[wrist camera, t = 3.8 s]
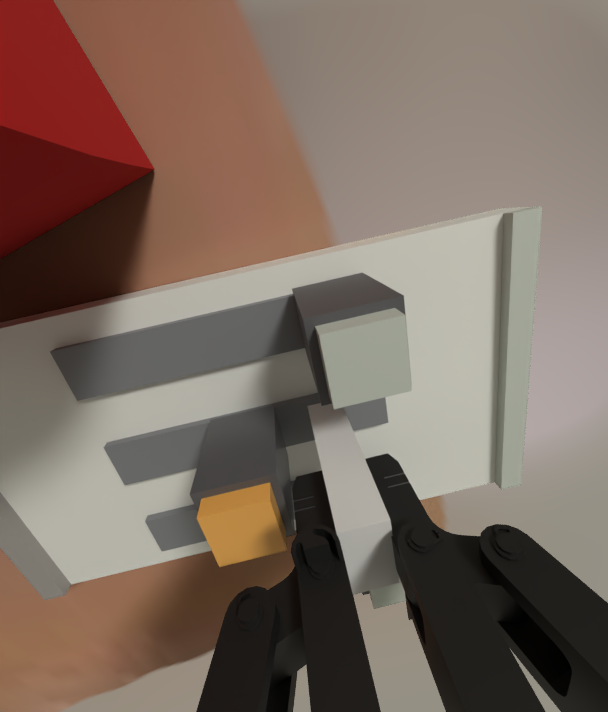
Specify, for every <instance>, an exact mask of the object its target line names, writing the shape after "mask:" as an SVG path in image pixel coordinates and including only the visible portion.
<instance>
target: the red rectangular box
mask: <svg viewBox="0 0 608 712" xmlns="http://www.w3.org/2000/svg"><path fill="white" fill-rule="evenodd" d="M153 170H154V168H153V166H152V164H151V163H150V161H149V159H148V158H147V156H146V154H145V153H144V151H143V149H142V148H141V146H140V144H139V143H138V141H137V139H136V138H135V136H134V134H133V133H132V131H131V129H130V128H129V126H128V124H127V123H126V121H125V119H124V118H123V116H122V114H121V113H120V111H119V109H118V108H117V106H116V104H115V103H114V101H113V99H112V98H111V96H110V94H109V93H108V91H107V89H106V88H105V86H104V84H103V83H102V81H101V79H100V78H99V76H98V74H97V73H96V71H95V69H94V68H93V66H92V64H91V63H90V61H89V59H88V58H87V56H86V54H85V53H84V51H83V49H82V48H81V46H80V44H79V43H78V41H77V39H76V38H75V36H74V34H73V33H72V31H71V30H70V28H69V26H68V25H67V23H66V21H65V20H64V18H63V16H62V15H61V13H60V11H59V10H58V8H57V6H56V5H55V3H54V1H53V0H0V259H1V258H3V257H5V256H6V255H8V254H10V253H11V252H13V251H15V250H17V249H18V248H20V247H22V246H23V245H25V244H27V243H29V242H30V241H32V240H34V239H36V238H37V237H39V236H41V235H42V234H44V233H46V232H48V231H49V230H51V229H53V228H54V227H56V226H58V225H60V224H61V223H63V222H65V221H67V220H68V219H70V218H72V217H73V216H75V215H77V214H79V213H80V212H82V211H84V210H85V209H87V208H89V207H91V206H92V205H94V204H96V203H98V202H99V201H101V200H103V199H104V198H106V197H108V196H110V195H111V194H113V193H115V192H117V191H118V190H120V189H122V188H123V187H125V186H127V185H129V184H130V183H132V182H134V181H135V180H137V179H139V178H141V177H142V176H144V175H146V174H148V173H149V172H151V171H153Z"/></svg>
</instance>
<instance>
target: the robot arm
mask: <svg viewBox="0 0 608 712" xmlns="http://www.w3.org/2000/svg"><path fill="white" fill-rule="evenodd" d="M307 407H308V411H309V415H310V420H311V424H312V429H313V433H314V437H315V442H316V446H317V450H318V455H319V459H320V464H321V468H322V470H321V471H317V472H313V473H309V474H305V475H301V476H297V477H296V479H295V482H294V484H293V487H292V493H293V501H294V511H295V522H296V532H297V535H296V537H295V539H294V541H293V543H292V548H291V554H292V557H293V560H294V563H295V567H294V569H293V571H292V572H291V573H290V574H289V576H288V577H286V578H285V579H284V580H283V581H281V582H280V583H278V584H277V585H275V586H274V587H272V588H270V589H269V590H266V589H265V588H262V587H258V586H255V587H250V588H247V589H245V590H243V591H242V592H240V593H239V594H238V595H237V596H236V597H235V598H234V599H233V600H232V602H231V603H230V605H229V607H228V609H227V612H226V614H225V617H224V621H223V624H222V628H221V631H220V634H219V638H218V641H217V644H216V648H215V651H214V654H213V658H212V661H211V664H210V668H209V671H208V675H207V678H206V681H205V685H204V688H203V692H202V695H201V698H200V701H199V705H198V708H197V712H293V706H294V697H295V688H296V679H297V671H298V670H299V669H300V668H302V667H303V666H305V665H306V664H307V674H308V685H309V695H310V705H311V712H381V711H380V707H379V702H378V698H377V694H376V690H375V686H374V682H373V678H372V673H371V669H370V665H369V660H368V656H367V652H366V648H365V644H364V640H363V636H362V631H361V627H360V623H359V619H358V614H357V610H356V606H355V602H354V597H353V595H354V594H358V593H362V592H366V591H370V590H374V589H378V588H382V587H386V586H390V585H394V584H397V583H400V582H399V578H400V580H401V583H402V586H403V588H404V591H405V598H406V605H407V612H408V618H409V620H410V619H412V620H413V622H414V625H415V628H416V631H417V634H418V636H419V639H420V642H421V645H422V647H423V650H424V653H425V655H426V658H427V661H428V664H429V666H430V669H431V672H432V675H433V677H434V680H435V683H436V686H437V688H438V691H439V694H440V696H441V699H442V702H443V705H444V707H445V710H446V712H545V710H544V708H543V707H542V705H541V703H540V701H539V700H538V698H537V696H536V695H535V693H534V691H533V689H532V687H531V686H530V684H529V682H528V680H527V678H526V677H525V675H524V673H523V672H522V670H521V668H520V667H519V664H518V663H517V661H516V659H515V657H514V656H513V654H512V652H511V650H512V651H513V653H514V654H515V655H516V656H517V658H518V659H519V660H520V661H521V663H522V664H523V665H524V666H525V667H526V669H527V670H528V671H529V672H530V674H531V675H532V676H533V677H534V679H535V680H536V681H537V682H538V684H539V685H540V686H541V687H542V688H543V690H544V691H545V692H546V693H547V695H548V696H549V697H550V699H551V700H552V701H553V702H554V704H555V705H556V706H557V707H558V708H559V710H560V711H561V712H608V603H607V602H606V601H604V600H603V599H602V598H601V597H600V596H599V595H597V594H596V593H595V592H594V591H593V590H592V589H590V588H589V587H588V586H587V585H586V584H585V583H583V582H582V581H581V580H580V579H579V578H578V577H576V576H575V575H574V574H573V573H572V572H570V571H569V570H568V569H567V568H566V567H565V566H563V565H562V564H561V563H560V562H559V561H558V560H556V559H555V558H554V557H553V556H552V555H551V554H549V553H548V552H547V551H546V550H545V549H543V548H542V547H541V546H540V545H539V544H538V543H536V542H535V541H534V540H533V539H532V538H530V537H529V536H528V535H527V534H525V533H524V532H522V531H521V530H519V529H517V528H514V527H511V526H508V525H499V524H496V525H492V526H489V527H487V528H486V529H485V530H483V531H482V533H481V536H464V535H456V534H452V533H449V532H446V531H444V530H442V529H441V528H439V527H438V526H436V525H435V524H434V523H433V522H432V521H431V519H430V518H429V516H428V515H427V513H426V511H425V509H424V507H423V506H422V504H421V502H420V500H419V498H418V496H417V495H416V493H415V491H414V489H413V487H412V486H411V484H410V483H409V480H408V478H407V477H406V475H405V474H404V471H403V469H402V467H401V466H400V464H399V462H398V461H397V460H396V459H394V458H393V457H392V456H391V455H389V454H388V453H387V454H383V455H379V456H374V457H370V458H366V459H365V458H364V455H363V453H362V451H361V448H360V446H359V443H358V441H357V439H356V436H355V434H354V431H353V429H352V427H351V424H350V422H349V419H348V417H347V415H346V412H345V410H344V408H343V407H342V408H337V409H334V408H333V405H332V404H329V405H324V406H322V405H321V403H318V404H314V405H310V406H307ZM508 646H509V647H508ZM510 649H511V650H510Z"/></svg>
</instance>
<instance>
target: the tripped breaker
mask: <svg viewBox="0 0 608 712" xmlns="http://www.w3.org/2000/svg"><path fill="white" fill-rule="evenodd" d="M190 497H191V499H192V501H193V503H194V505H195V507H196V509H197V512H198V515H197V520H198V522H199V525H200V527H201V529H202V531H203V533H204V535H205V537H206V539H207V542H208V544H209V546H210V548H211V550H212V552H213V554H214V556H215V559H216V561H217V563H218V565H219V567H222V566H226V565H230V564H234V563H238V562H242V561H246V560H251V559H255V558H259V557H263V556H267V555H271V554H275V553H279V552H283V551H287V544H286V537H287V536H291V535H295V526H294V515H293V504H292V493H291V482H290V471H289V459H288V453H287V450H286V446H285V443H284V439H283V436H282V432H281V429H280V425H279V422H278V418H277V415H276V411H275V408H274V405H272V406H267V407H263V408H259V409H255V410H250V411H246V412H242V413H238V414H233V415H229V416H225V417H221V418H216V419H212V420H210V423H209V427H208V430H207V434H206V438H205V441H204V445H203V448H202V452H201V455H200V459H199V463H198V466H197V470H196V473H195V477H194V480H193V484H192V488H191V491H190Z"/></svg>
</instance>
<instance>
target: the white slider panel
mask: <svg viewBox="0 0 608 712" xmlns="http://www.w3.org/2000/svg"><path fill="white" fill-rule="evenodd" d="M541 217H542V207H521V208H500V209H496V210H491V211H487V212H482V213H478V214H474V215H469V216H465V217H461V218H456V219H452V220H447V221H443V222H439V223H435V224H430V225H426V226H421V227H417V228H413V229H408V230H404V231H400V232H395V233H390V234H387V235H382V236H377V237H373V238H369V239H364V240H360V241H356V242H351V243H347V244H342V245H338V246H334V247H329V248H325V249H320V250H316V251H312V252H307V253H303V254H298V255H294V256H290V257H285V258H281V259H277V260H272V261H268V262H263V263H259V264H255V265H250V266H246V267H242V268H237V269H233V270H228V271H224V272H220V273H215V274H211V275H207V276H202V277H198V278H193V279H189V280H185V281H180V282H176V283H171V284H167V285H163V286H158V287H154V288H150V289H145V290H141V291H136V292H132V293H128V294H123V295H119V296H115V297H110V298H106V299H101V300H97V301H93V302H88V303H84V304H79V305H75V306H71V307H66V308H62V309H58V310H53V311H49V312H44V313H40V314H36V315H31V316H27V317H23V318H18V319H14V320H9V321H5V322H1V323H0V548H1V549H2V550H3V552H4V553H5V554H6V555H7V556H8V558H9V559H10V560H11V561H12V562H13V563H14V565H15V566H16V567H17V568H18V569H19V571H20V572H21V573H22V574H23V575H24V576H25V578H26V579H27V580H28V581H29V582H30V584H31V585H32V586H33V587H34V588H35V589H36V591H37V592H38V593H39V594H40V595H41V597H42V598H43V599H44V600H48V599H52V598H56V597H60V596H64V595H66V593H67V591H68V590H69V588H70V586H71V584H75V583H79V582H83V581H88V580H92V579H96V578H100V577H104V576H108V575H112V574H116V573H121V572H125V571H129V570H133V569H137V568H141V567H145V566H150V565H154V564H158V563H162V562H166V561H170V560H174V559H178V558H183V557H187V556H191V555H195V554H199V553H203V552H207V551H212V550H211V548H210V546H209V544H208V542H207V539H206V537H205V535H204V533H203V531H202V529H201V527H200V525H199V522H198V520H197V515H198V512H197V509H196V507H195V505H194V503H193V501H192V499H191V497H190V491H191V488H192V484H193V480H194V477H195V473H196V470H197V466H198V463H199V459H200V455H201V452H202V448H203V445H204V441H205V438H206V434H207V430H208V427H209V423H210V420H212V419H216V418H221V417H225V416H229V415H233V414H238V413H242V412H246V411H250V410H255V409H259V408H263V407H267V406H272V405H274V408H275V411H276V415H277V418H278V422H279V425H280V429H281V432H282V436H283V439H284V443H285V446H286V450H287V453H288V459H289V471H290V482H291V493H292V487H293V484H294V482H295V479H296V477H297V476H301V475H305V474H309V473H313V472H317V471H321V470H322V468H321V464H320V459H319V455H318V450H317V446H316V442H315V437H314V433H313V429H312V424H311V420H310V415H309V411H308V407H307V406H310V405H314V404H318V403H321V405H322V406H324V405H329V404H332V405H333V408H334V409H337V408H342V407H343V408H344V410H345V412H346V415H347V417H348V419H349V422H350V424H351V427H352V429H353V431H354V434H355V436H356V439H357V441H358V443H359V446H360V448H361V451H362V453H363V455H364V458H365V459H366V458H370V457H374V456H379V455H383V454H387V453H388V454H389V455H391V456H392V457H393V458H394V459H396V460H397V461H398V462H399V464H400V466H401V467H402V469H403V471H404V474H405V475H406V477H407V478H408V480H409V483H410V484H411V486H412V487H413V489H414V491H415V493H416V495H417V496H418V498H419V500H422V499H427V498H431V497H435V496H439V495H443V494H447V493H451V492H456V491H460V490H464V489H468V488H472V487H476V486H480V485H485V484H488V483H493V482H495V483H496V484H497V485H498V486H499V488H500V489H506V488H510V487H514V486H518V485H521V480H522V467H523V455H524V440H525V429H526V414H527V402H528V388H529V374H530V362H531V349H532V336H533V322H534V310H535V295H536V283H537V269H538V256H539V242H540V230H541ZM292 504H293V515H294V526H295V530H296V522H295V511H294V501H293V493H292ZM399 582H400V583H397V584H394V585H390V586H386V587H382V588H378V589H374V590H370V591H366V592H362V594H363V595H364V594H369V593H370V596H371V600H372V603H373V607H374V609H376V608H380V607H384V606H388V605H392V604H396V603H400V602H404V601H406V598H405V591H404V588H403V586H402V583H401V580H400V578H399Z"/></svg>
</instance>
